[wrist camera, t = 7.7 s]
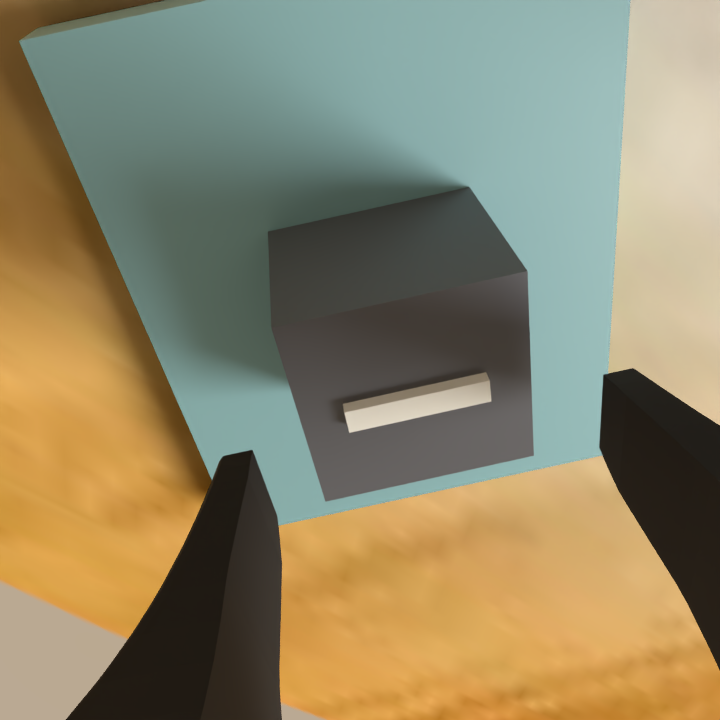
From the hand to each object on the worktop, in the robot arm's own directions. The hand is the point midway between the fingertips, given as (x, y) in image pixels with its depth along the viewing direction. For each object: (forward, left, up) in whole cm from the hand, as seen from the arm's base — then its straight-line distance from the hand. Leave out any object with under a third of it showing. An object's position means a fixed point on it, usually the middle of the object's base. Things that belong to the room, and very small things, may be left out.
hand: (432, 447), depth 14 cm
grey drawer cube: (0, 0, -6) cm, 6 cm away
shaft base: (0, 0, -8) cm, 8 cm away
